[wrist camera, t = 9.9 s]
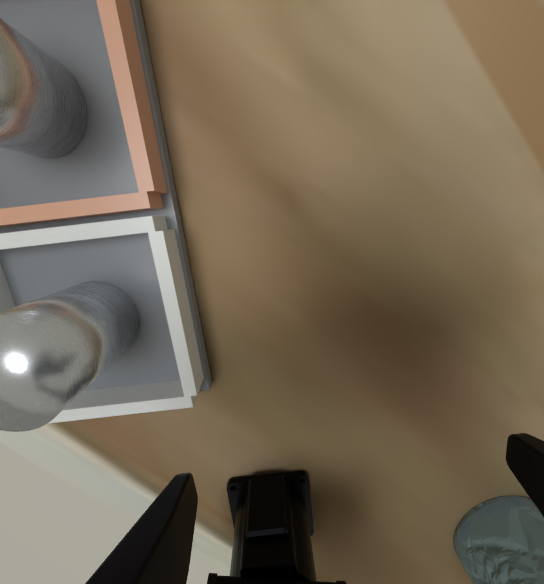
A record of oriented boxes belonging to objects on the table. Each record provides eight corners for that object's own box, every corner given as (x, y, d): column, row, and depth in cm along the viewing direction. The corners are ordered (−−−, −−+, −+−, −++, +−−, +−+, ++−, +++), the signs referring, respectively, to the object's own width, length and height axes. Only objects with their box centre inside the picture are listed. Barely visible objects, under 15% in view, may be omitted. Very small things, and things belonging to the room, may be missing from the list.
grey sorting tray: (211, 381, 21) (203, 408, 18) (49, 399, 21) (13, 429, 18) (133, -32, 14) (100, -95, 12) (-99, -4, 15) (-189, -58, 12)
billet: (147, 349, 19) (81, 424, 12) (73, 358, 19) (-34, 437, 12) (129, 276, 18) (43, 314, 11) (49, 285, 18) (-86, 329, 11)
